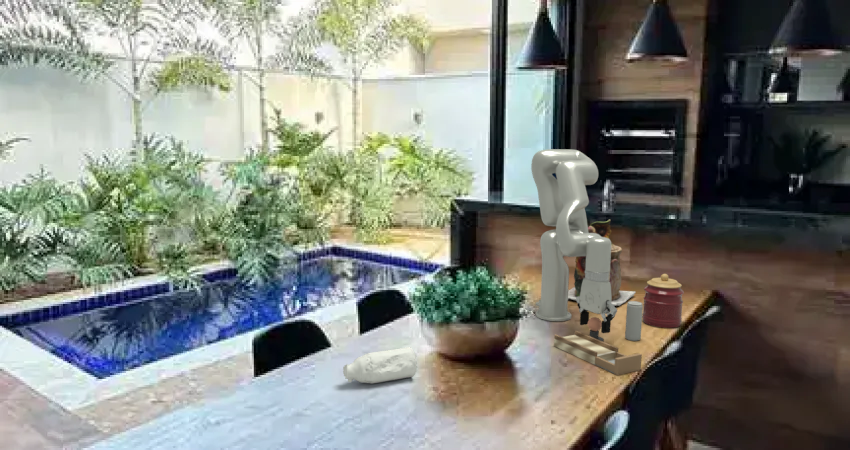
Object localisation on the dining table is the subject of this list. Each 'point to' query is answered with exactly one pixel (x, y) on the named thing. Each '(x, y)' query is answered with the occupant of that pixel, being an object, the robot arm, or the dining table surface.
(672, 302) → the canister
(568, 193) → the robot arm
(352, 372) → the white bottle
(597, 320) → the ball
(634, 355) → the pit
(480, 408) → the dining table surface
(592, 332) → the tee
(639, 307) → the beverage can
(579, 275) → the cookie jar
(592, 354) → the lane
